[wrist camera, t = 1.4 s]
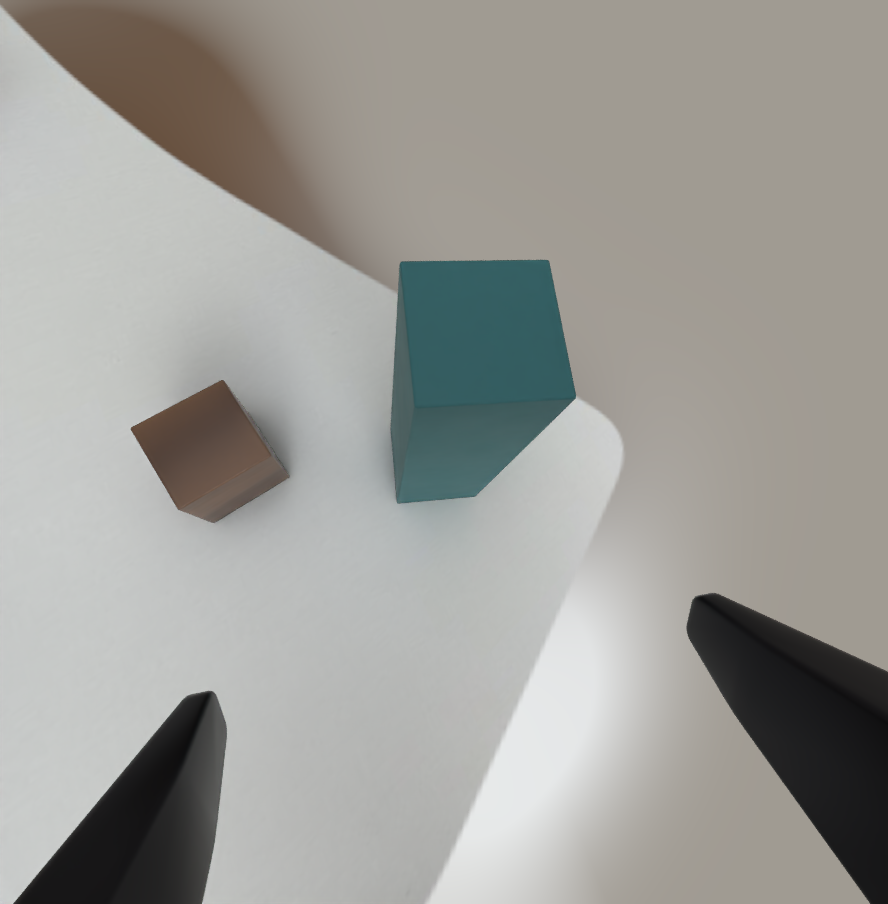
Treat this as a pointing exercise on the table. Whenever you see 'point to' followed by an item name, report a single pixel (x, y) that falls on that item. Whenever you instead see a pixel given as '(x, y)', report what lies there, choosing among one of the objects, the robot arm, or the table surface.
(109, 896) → the robot arm
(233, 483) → the block
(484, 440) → the teal block
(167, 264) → the table surface
